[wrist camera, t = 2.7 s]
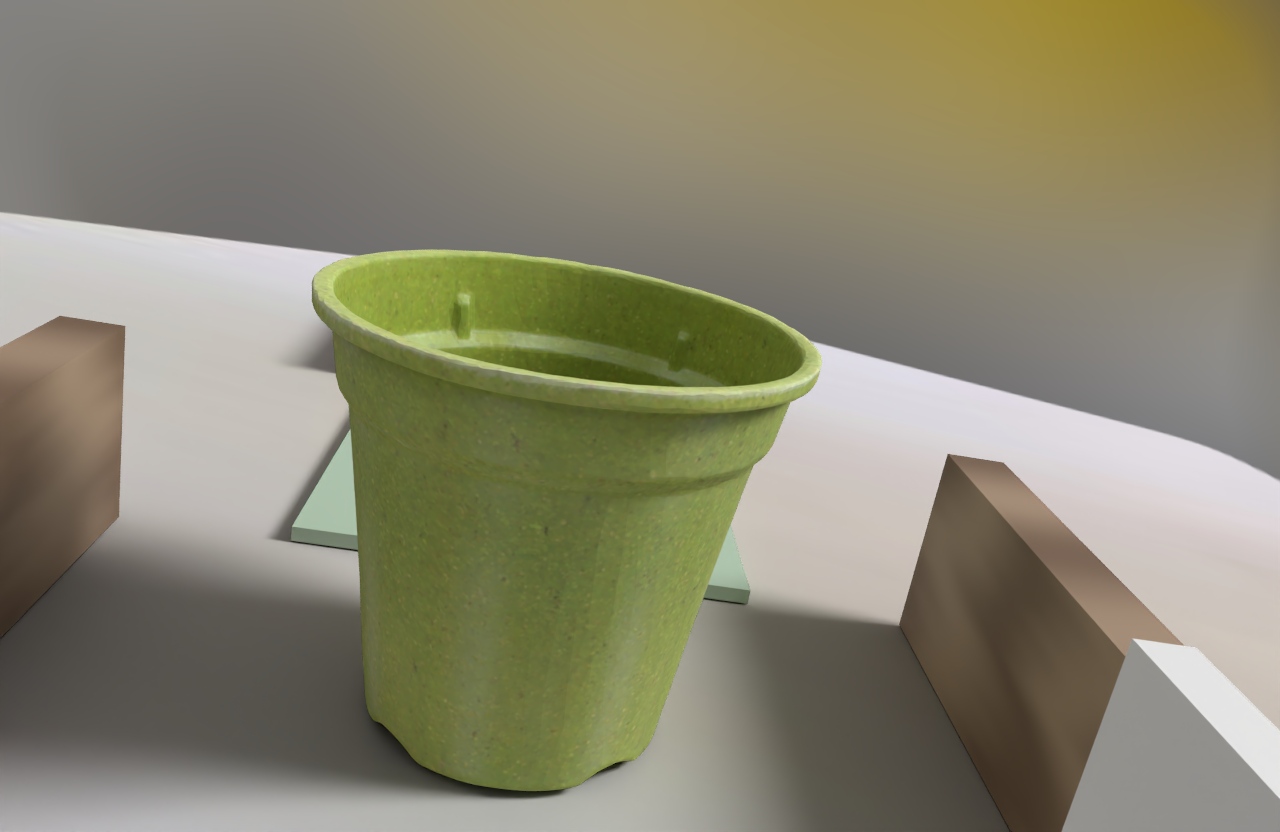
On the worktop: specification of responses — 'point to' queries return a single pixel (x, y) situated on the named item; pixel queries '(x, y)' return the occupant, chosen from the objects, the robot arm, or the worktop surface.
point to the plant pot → (541, 494)
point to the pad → (336, 526)
